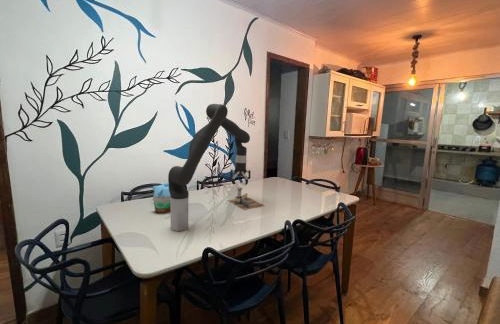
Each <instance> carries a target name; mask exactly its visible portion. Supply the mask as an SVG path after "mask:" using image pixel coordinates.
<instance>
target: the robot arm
mask: <svg viewBox="0 0 500 324" xmlns="http://www.w3.org/2000/svg"><path fill="white" fill-rule="evenodd" d="M228 112H229V111H228V107H227V106H226V105H225V104H218V103H211V104H208V106H207V107H206V110H205V114H206V116H207V118H208V119H210V121H209V122H207V124H205V125H204V126H203V127H202V128H200V129H199V130H198V131H197V132H196V133H195V134H194V136H193V138H192V139H191V141H190V143H189V145H188V146H189V147H188V155H187V159H186V161H185V163H184V164H183V165H182V166H179V165H175V166H172V167H171V168H170V170H169V171H168V175H167V178H168V180H167V181H168V182H167V183H168V184H169V192H170V212H169V214H170V230H171V231H175V232H182V231H185V230H189V215H190V214H189V203H190V202H189V195H190V193H189V191H188V189H187V188H186V187H185V186H187V185H188V184H190V182H191V181H192V179H193V177H194V174H195V173H196V170H197V168H198V165H199V163H200V162H201V160H202V158H203V156H204V154H205V152H206V151H207V149H208V147H209V145H210V144H211V142H212V140H213V138H214V136H215V135H216V133H217V132H218V130H219V128H220V127H222V128H223V129H224V130H226V131H227V132H228V133H229V134H230V135H231V136H232V137H233V138H234V143H235V148H236V152H235V153H236V154H235V165H234V166H235V168H234V169H233V168H231V169H230V174H229V179H232V184H233V185H235V181H236V180H235V179H236V177H244V178H245V186H247V185H248V182H249V180H250V179H251V169H247V161H248V160H247V151H248V150H247V147H246V146H244V145H243V144H247V143H248V144H249V142H250V140H251V136H250V134H249V132H247V131H246V130H245V129H244V130H243V129H242V128H240V126H238V124H237V123H235V122H234V121H232V120H231V119H229V118H227V116H228ZM233 173H235V174H234V175H233ZM247 174H248V176H247Z"/></svg>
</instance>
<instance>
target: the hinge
mask: <svg viewBox="0 0 500 324" xmlns="http://www.w3.org/2000/svg"><path fill="white" fill-rule="evenodd" d="M237 197H238V195H235V196H234V199H235V203H236V204H241V205H243V206H245V207H247V208H249V205H250V202H248V201H246V199H247V197H248V193H247V192H246V193H243V194H241V198H237Z"/></svg>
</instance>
